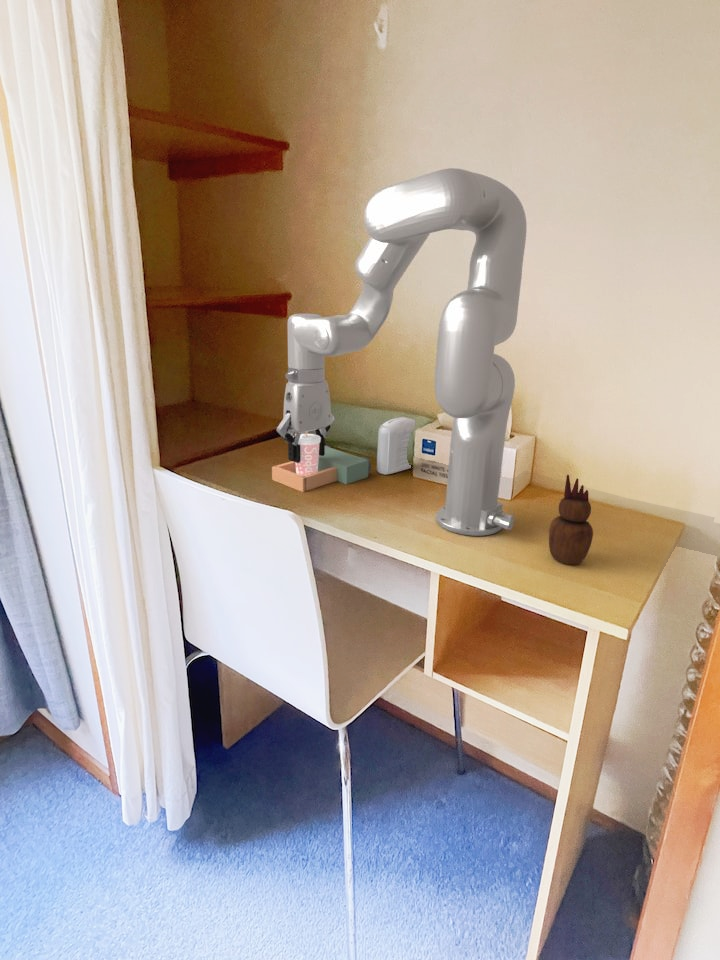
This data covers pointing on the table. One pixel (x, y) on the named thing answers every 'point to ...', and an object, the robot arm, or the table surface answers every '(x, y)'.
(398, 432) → the photo printer
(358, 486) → the table surface
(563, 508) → the wooden figurine
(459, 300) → the robot arm
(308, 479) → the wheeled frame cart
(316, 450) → the beverage cup
